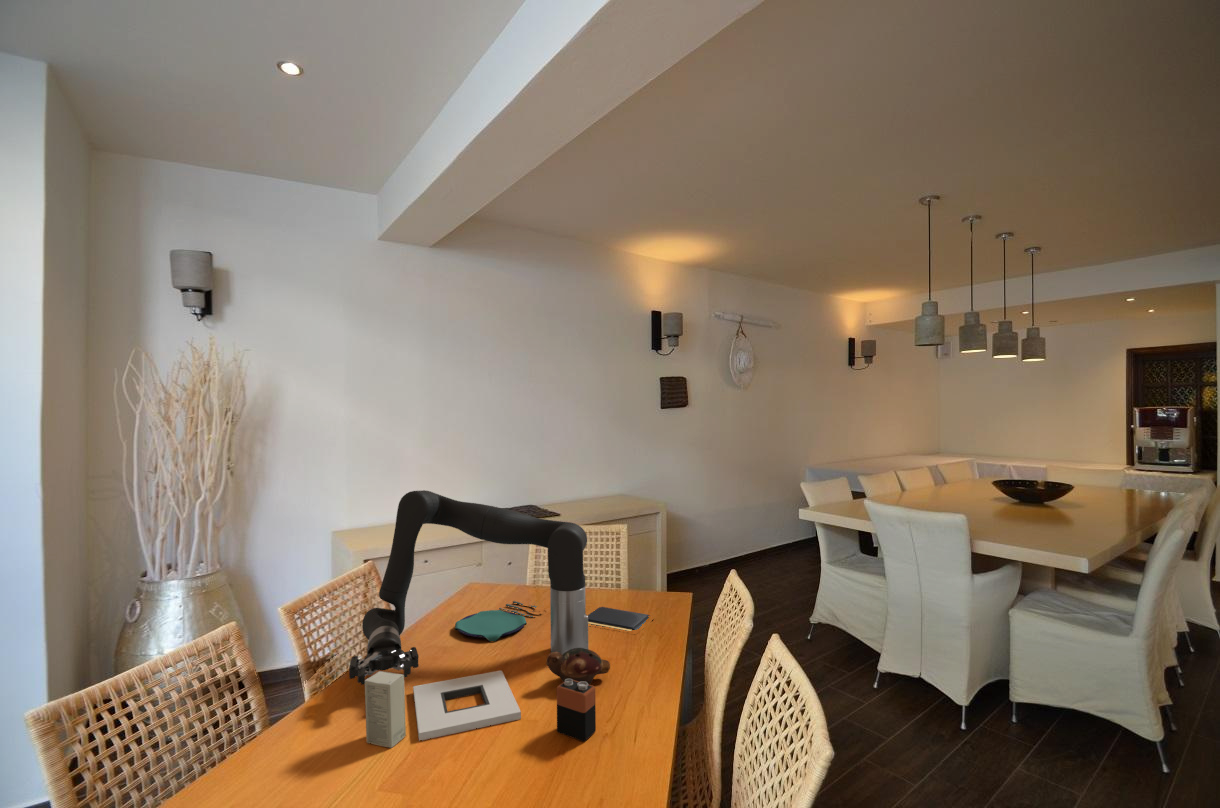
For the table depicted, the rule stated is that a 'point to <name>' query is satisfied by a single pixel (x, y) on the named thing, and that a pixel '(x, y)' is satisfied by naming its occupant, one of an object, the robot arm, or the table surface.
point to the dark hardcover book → (617, 619)
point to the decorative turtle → (577, 665)
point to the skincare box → (385, 709)
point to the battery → (576, 709)
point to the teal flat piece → (492, 623)
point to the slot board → (442, 722)
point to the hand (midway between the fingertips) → (384, 676)
